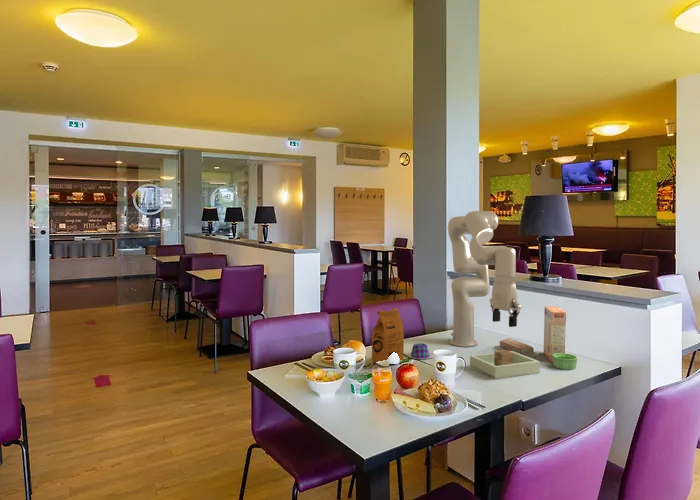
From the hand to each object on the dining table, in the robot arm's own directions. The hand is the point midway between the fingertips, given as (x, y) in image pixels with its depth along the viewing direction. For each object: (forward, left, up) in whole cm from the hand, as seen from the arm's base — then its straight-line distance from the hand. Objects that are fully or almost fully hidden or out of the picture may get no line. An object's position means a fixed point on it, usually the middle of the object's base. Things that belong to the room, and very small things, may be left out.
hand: (504, 323), depth 182 cm
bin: (0, 0, -18) cm, 18 cm away
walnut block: (0, 0, -17) cm, 17 cm away
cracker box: (-6, +30, -18) cm, 36 cm away
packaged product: (-20, +21, -19) cm, 35 cm away
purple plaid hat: (-29, -21, -19) cm, 40 cm away
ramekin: (+5, +25, -18) cm, 31 cm away
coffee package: (-25, -38, -18) cm, 49 cm away
